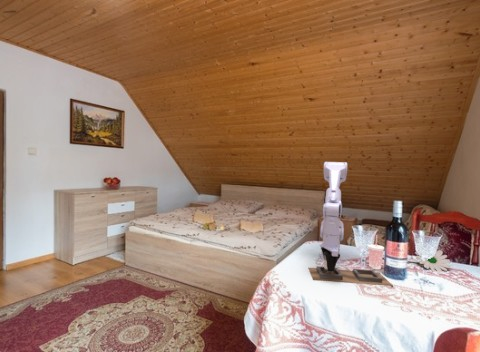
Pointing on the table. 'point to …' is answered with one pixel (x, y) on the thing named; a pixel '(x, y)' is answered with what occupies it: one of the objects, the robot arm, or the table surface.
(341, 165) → the robot arm
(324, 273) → the metal cylinder
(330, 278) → the dock board
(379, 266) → the beverage cup
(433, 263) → the flower
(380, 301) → the table surface
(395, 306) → the table surface
